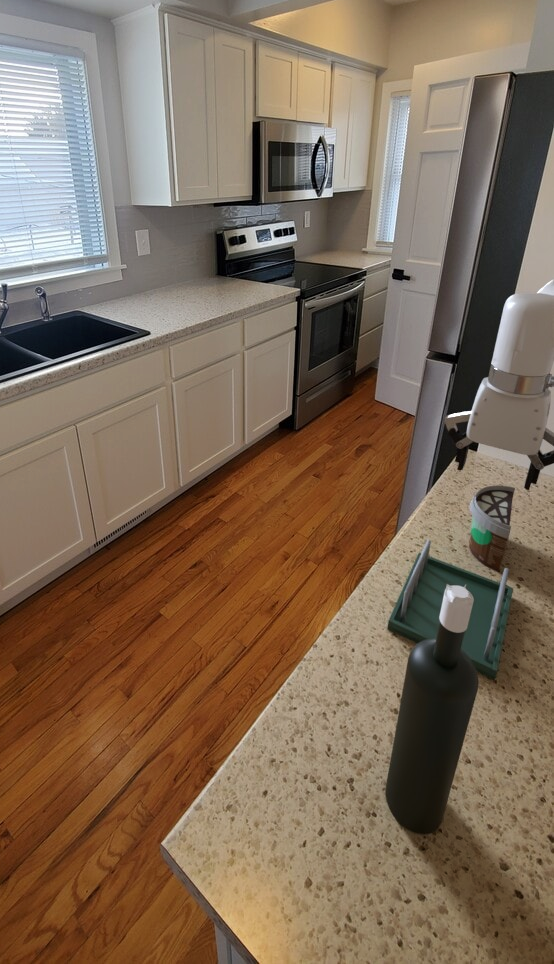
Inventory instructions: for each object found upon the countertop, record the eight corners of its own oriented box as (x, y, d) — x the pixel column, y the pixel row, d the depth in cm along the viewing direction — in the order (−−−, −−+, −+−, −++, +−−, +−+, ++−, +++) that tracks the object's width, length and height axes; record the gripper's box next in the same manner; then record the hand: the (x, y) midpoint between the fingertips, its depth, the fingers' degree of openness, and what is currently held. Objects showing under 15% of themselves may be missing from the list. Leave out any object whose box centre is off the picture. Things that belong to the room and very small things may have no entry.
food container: (466, 520, 91) (476, 476, 86) (503, 531, 88) (515, 486, 83) (456, 563, 81) (466, 515, 77) (498, 577, 78) (511, 528, 74)
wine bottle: (403, 758, 55) (442, 554, 43) (453, 802, 51) (512, 592, 39) (374, 798, 51) (408, 590, 39) (425, 850, 48) (480, 636, 35)
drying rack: (510, 596, 75) (520, 564, 72) (494, 680, 63) (504, 645, 60) (417, 560, 82) (422, 529, 79) (387, 629, 70) (391, 595, 67)
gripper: (588, 382, 70) (557, 481, 77) (459, 359, 79) (442, 450, 86) (588, 402, 64) (554, 506, 71) (449, 374, 73) (431, 470, 80)
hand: (493, 475), depth 78 cm, fingers open, 9 cm apart
